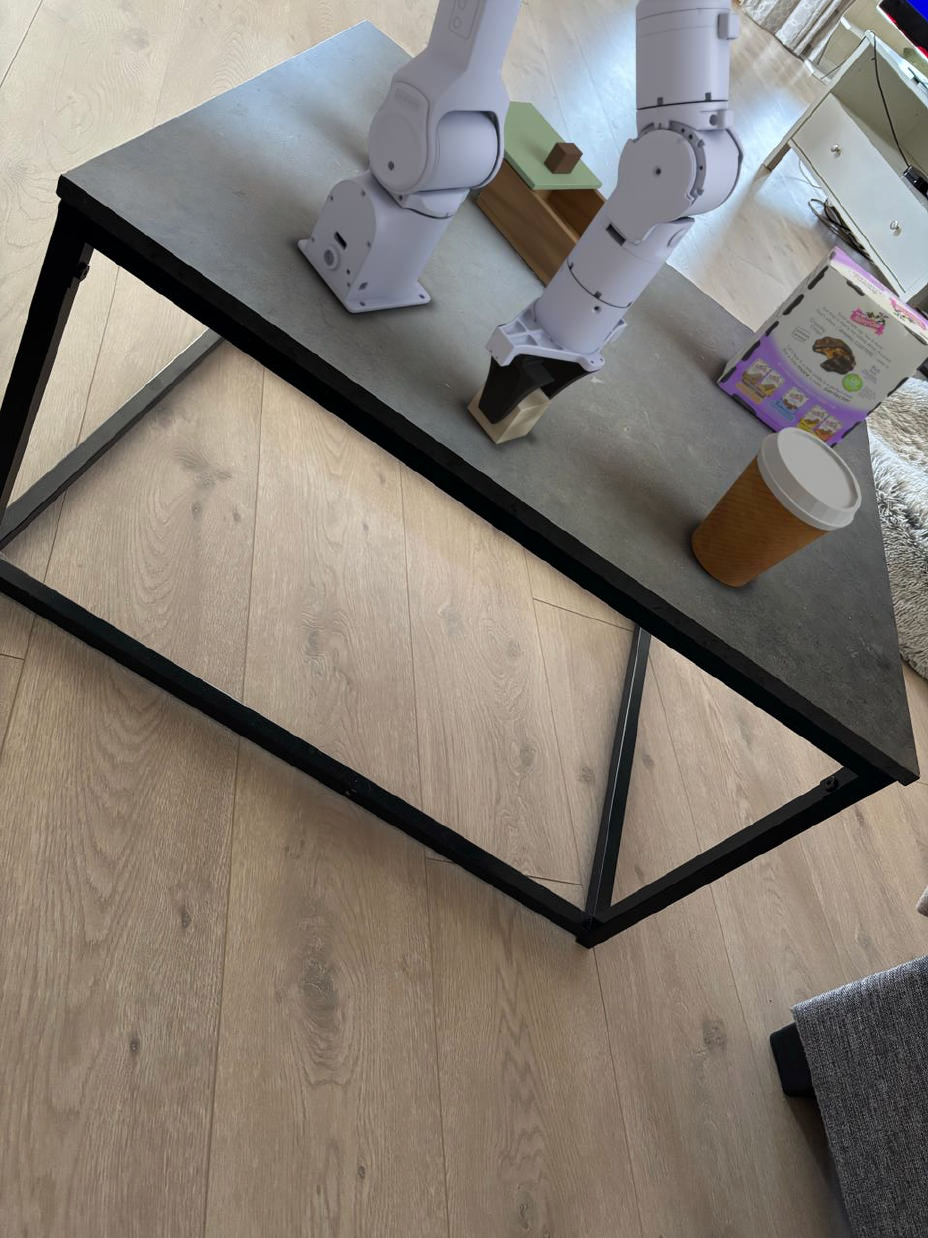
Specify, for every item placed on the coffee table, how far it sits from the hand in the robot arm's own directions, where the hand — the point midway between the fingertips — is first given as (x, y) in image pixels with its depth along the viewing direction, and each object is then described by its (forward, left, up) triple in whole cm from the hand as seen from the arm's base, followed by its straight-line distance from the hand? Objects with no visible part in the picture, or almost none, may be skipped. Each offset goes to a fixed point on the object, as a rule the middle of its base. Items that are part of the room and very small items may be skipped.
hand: (505, 410), depth 78 cm
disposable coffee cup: (+13, -19, -2) cm, 23 cm away
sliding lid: (+26, +27, +4) cm, 37 cm away
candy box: (+39, -8, -2) cm, 40 cm away
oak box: (+26, +19, -1) cm, 32 cm away
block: (0, 0, -1) cm, 1 cm away
